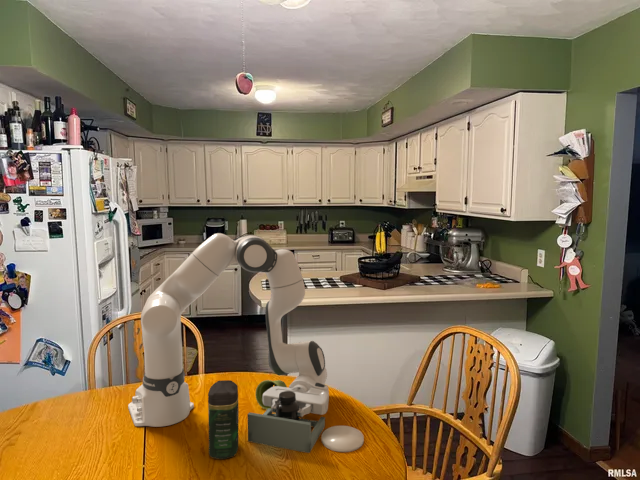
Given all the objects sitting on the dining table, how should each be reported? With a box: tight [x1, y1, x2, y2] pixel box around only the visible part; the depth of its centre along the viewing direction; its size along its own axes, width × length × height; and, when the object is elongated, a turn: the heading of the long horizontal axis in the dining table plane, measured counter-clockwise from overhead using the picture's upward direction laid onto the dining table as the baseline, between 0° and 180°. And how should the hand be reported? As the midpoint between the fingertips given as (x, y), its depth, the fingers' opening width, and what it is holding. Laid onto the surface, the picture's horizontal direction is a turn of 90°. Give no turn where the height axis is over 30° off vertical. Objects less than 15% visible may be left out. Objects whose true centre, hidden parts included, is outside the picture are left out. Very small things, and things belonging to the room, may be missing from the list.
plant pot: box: [255, 379, 288, 410], centre depth 147 cm, size 9×9×9 cm
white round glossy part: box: [320, 425, 365, 453], centre depth 126 cm, size 12×12×1 cm
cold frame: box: [247, 408, 326, 454], centre depth 128 cm, size 14×18×8 cm
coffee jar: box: [207, 379, 240, 460], centre depth 119 cm, size 10×8×19 cm
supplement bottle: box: [275, 391, 300, 421], centre depth 128 cm, size 7×7×12 cm
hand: (286, 412), depth 127 cm, fingers closed on supplement bottle, 7 cm apart
